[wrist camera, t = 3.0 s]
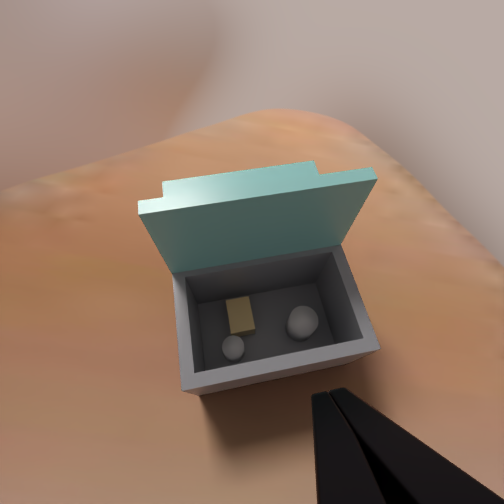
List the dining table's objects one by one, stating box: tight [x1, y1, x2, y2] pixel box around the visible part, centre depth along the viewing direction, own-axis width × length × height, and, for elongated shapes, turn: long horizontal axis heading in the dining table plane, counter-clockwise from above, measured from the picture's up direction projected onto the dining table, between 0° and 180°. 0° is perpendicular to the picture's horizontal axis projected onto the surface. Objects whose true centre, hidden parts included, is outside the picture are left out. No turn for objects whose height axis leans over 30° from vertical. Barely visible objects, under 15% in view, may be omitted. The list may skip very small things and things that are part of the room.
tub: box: [172, 245, 381, 396], centre depth 18 cm, size 11×9×5 cm
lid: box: [138, 161, 378, 273], centre depth 15 cm, size 6×9×5 cm, turn 101°
